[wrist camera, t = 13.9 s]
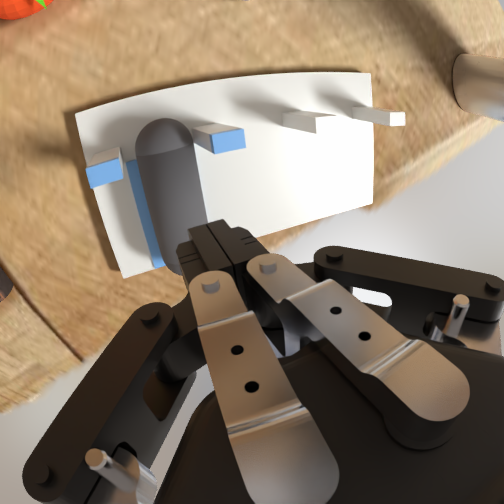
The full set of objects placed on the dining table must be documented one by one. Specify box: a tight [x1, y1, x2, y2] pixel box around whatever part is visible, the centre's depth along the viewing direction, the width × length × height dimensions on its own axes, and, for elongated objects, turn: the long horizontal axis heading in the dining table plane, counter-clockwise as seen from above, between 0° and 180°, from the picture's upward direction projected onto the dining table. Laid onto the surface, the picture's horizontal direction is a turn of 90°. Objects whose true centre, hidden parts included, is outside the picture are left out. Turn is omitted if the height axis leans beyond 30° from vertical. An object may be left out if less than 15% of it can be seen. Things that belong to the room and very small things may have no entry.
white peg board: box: [75, 72, 405, 278], centre depth 23 cm, size 26×14×7 cm, turn 97°
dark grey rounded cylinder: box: [135, 118, 208, 276], centre depth 22 cm, size 12×4×4 cm, turn 7°
